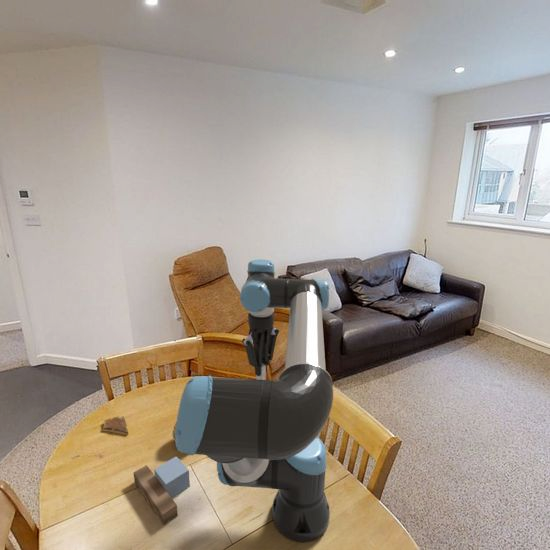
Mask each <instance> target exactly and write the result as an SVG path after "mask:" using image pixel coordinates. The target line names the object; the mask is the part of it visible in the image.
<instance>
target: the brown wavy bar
mask: <svg viewBox="0 0 550 550" xmlns="http://www.w3.org/2000/svg"><path fill="white" fill-rule="evenodd" d="M133 480H134V484H135V485H136V486H137V488H138V490H139V491H140V492H141V494H142V495H143V496H144V498H145V500H146V501H147V503H148V505H149V506H150V507H151V508H152V510H153V512H154V513H155V515H156V516H157V518H158V519H159V521H160V522H161V523H162V525H163V526H165V525H166V524H167V523H169V522H171V521H172V520H174V519H175V518H176V517H178V515H179V513H178V512H179V511H178V505H177V503H176V502H175V500H174V499H173V498H171V496H170V495H169V494H168V492H167V491H166V490H165V489H164V487H163V486H162V485H161V483H160V482H159V481H158V479H157V478H156V477H155V473H154V472H153V471H152V469H150V468H149V465H147V464H146V465H144V466H143V467H140V468H139V469H136V470H135V471H134V472H133Z"/></svg>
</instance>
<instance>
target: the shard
mask: <svg viewBox="0 0 550 550" xmlns="http://www.w3.org/2000/svg"><path fill="white" fill-rule="evenodd" d="M102 432H110V433H114V434H117V435H121V436H128V435H129V431H128V428H127V422H126V418H125V416H124V415H120V416H119V415H118V416H114V417H112V418H108V419H105V420H103V428H102Z"/></svg>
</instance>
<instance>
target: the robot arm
mask: <svg viewBox="0 0 550 550" xmlns="http://www.w3.org/2000/svg"><path fill="white" fill-rule="evenodd" d="M246 273H247V278H246V281H245V283H244V284H243V285H242V287H241V290H240V294H239V300H240V303H241V304H240V305H242V307H243V309H244V310H247V311H248V317H247V318H248V320H247V321H248V326H249V330H248V336H247V337H246V338H243V339H242V340H241V342H242V343H243V345H244V347H245V352H246V357H247V359H248V364H249V365H250V366H252V367H253V368H254V375H255V376H256V377H255V379H254V378H252V379H251V378H236V377H235V378H232V377H218V376H212V375H202V376H198V375H197V376H193V377H192V378H190V379H189V380H188V381H187V383H186V384H185V386H184V389H183V391H182V394H181V399H180V401H179V407H178V411H177V418H176V422H177V423H176V422H175V424H176V433H175V440H174V441H175V447H176V449H177V452H179V453H182V454H188V455H189V456H194V455H203V456H206V457H208V458H209V459H210V460H212V461H214V462H216V472H217V478H218V480H219V482H220V483H221V484H223V485H226V486H229V487H246V488H247V487H248V488H262V489H272V490H277V492H276V494H275V496H274V499H273V501H272V514H271V515H272V521H273V524H274V526H275V528H276V529H277V530H278V531H279V533H280V534H281V535H283V536H284V537H285V538H287V539H289V540H291V541H294V542H298V543H308V542H312V541H315V540H317V539H319V538H320V537H322V536H323V534H324V533H325V532H326V531H327V528H328V527H329V525H330V514H331V513H330V512H331V510H330V505H329V501H328V499H327V496H326V493H325V489H326V488H325V486H326V485H325V484H326V481H325V480H326V470H327V467H328V462H327V449H326V446H325V444H324V441H322V439H321V438H319V437H318V436H319V435H320V433H321V432H322V430H323V429H324V427H325V425H326V424H327V421H328V419H329V417H330V414H331V411H332V407H333V401H334V387H333V379H332V376H331V375H330V373H329V372H328V371H327V370H326V369H327V368H326V358H325V357H326V356H325V355H326V353H325V342H324V341H325V340H324V326H323V323H324V321H323V310H324V311H325V310H327V309H328V308H329V303H330V300H329V299H330V285H329V282H328V281H326V280H320V279H314V278H312V279H299V278H276V277H275V274H276V272H275V264H274V262H273V261H272V260H269V259H253V260H250V261H249V262H248V264H247V270H246ZM275 309H289V317H288V331H287V339H286V340H287V342H286V343H287V344H286V353H285V354H286V355H285V363H284V369H283V370H282V371H281V373H280V375H279V376H278V379H277V380H275V379H274V380H272V379H267V371H268V366H270V361H272V360H273V358H274V353H275V346H276V341H277V337H278V335H279V333H280V330H279V329H278V328H276V327H274V324H275V323H274V322H275V313H274V312H275Z"/></svg>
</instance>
